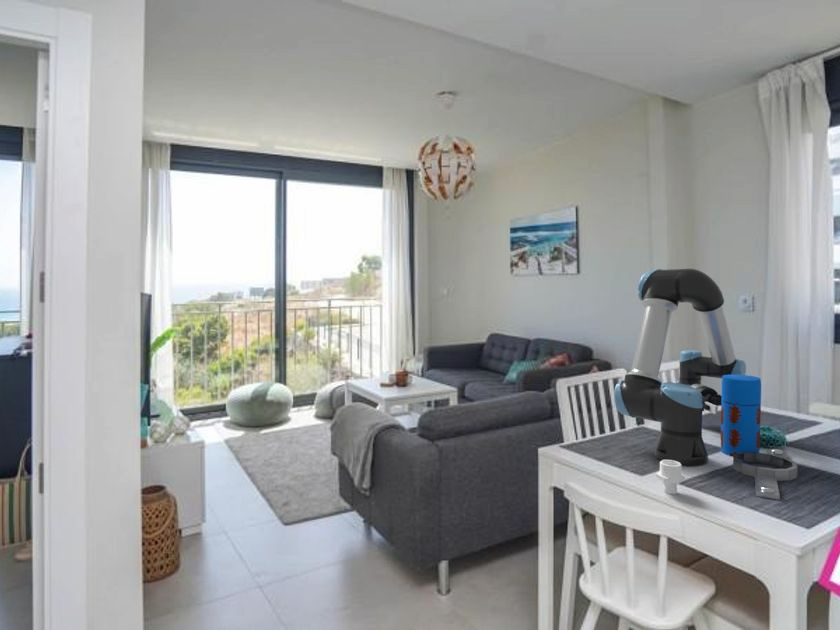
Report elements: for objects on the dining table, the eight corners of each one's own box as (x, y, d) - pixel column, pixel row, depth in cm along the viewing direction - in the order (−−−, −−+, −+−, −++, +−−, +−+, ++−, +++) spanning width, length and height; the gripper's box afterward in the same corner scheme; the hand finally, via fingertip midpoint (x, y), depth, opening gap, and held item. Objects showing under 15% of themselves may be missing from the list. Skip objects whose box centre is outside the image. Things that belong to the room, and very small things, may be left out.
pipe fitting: (688, 491, 136) (688, 462, 135) (676, 499, 131) (677, 469, 131) (663, 484, 140) (664, 456, 140) (652, 492, 136) (652, 463, 135)
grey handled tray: (732, 491, 135) (732, 481, 135) (733, 447, 170) (733, 439, 169) (805, 504, 127) (805, 492, 126) (790, 455, 161) (790, 446, 161)
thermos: (752, 461, 157) (754, 382, 155) (715, 453, 165) (716, 377, 164) (764, 453, 164) (766, 377, 162) (727, 445, 172) (729, 373, 170)
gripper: (737, 405, 188) (775, 420, 167) (669, 406, 188) (698, 421, 167) (737, 385, 187) (776, 398, 166) (669, 386, 188) (699, 399, 167)
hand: (737, 410), depth 167 cm, fingers open, 13 cm apart
